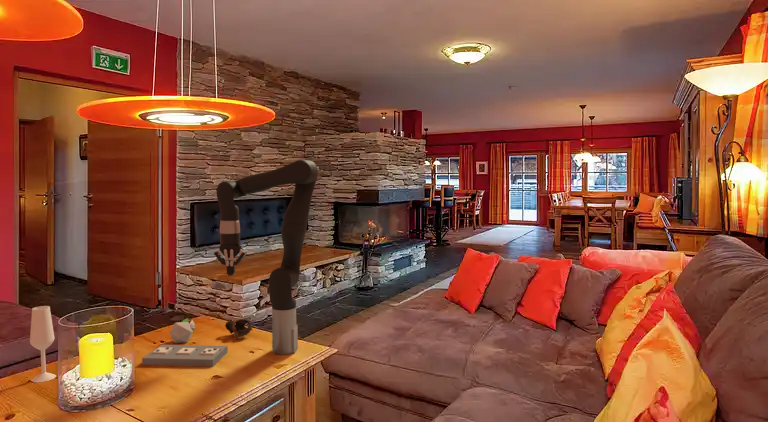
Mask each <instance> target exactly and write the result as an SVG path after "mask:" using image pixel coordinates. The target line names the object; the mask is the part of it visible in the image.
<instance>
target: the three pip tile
mask: <svg viewBox="0 0 768 422" xmlns="http://www.w3.org/2000/svg"><path fill="white" fill-rule="evenodd" d="M218 352H219V349H217V348H206V349H205V350H204V351H202V352H201V355H216V354H217V353H218Z"/></svg>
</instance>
